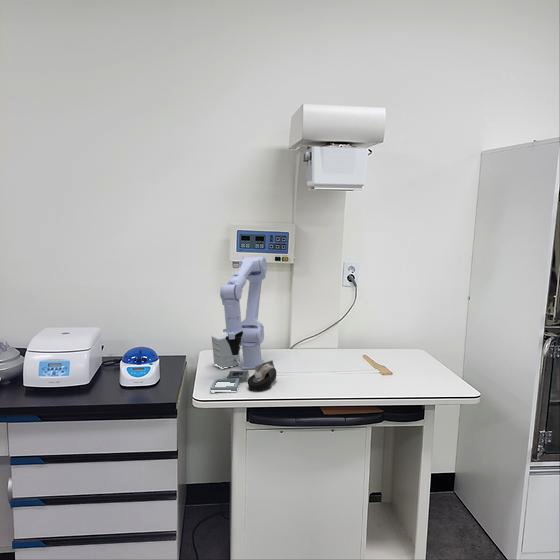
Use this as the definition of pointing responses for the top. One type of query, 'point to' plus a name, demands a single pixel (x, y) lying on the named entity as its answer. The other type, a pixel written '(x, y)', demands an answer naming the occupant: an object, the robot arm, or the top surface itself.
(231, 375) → the tensioner block
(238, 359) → the lock pin
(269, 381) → the caster wheel
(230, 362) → the grey box
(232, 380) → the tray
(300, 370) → the top surface
